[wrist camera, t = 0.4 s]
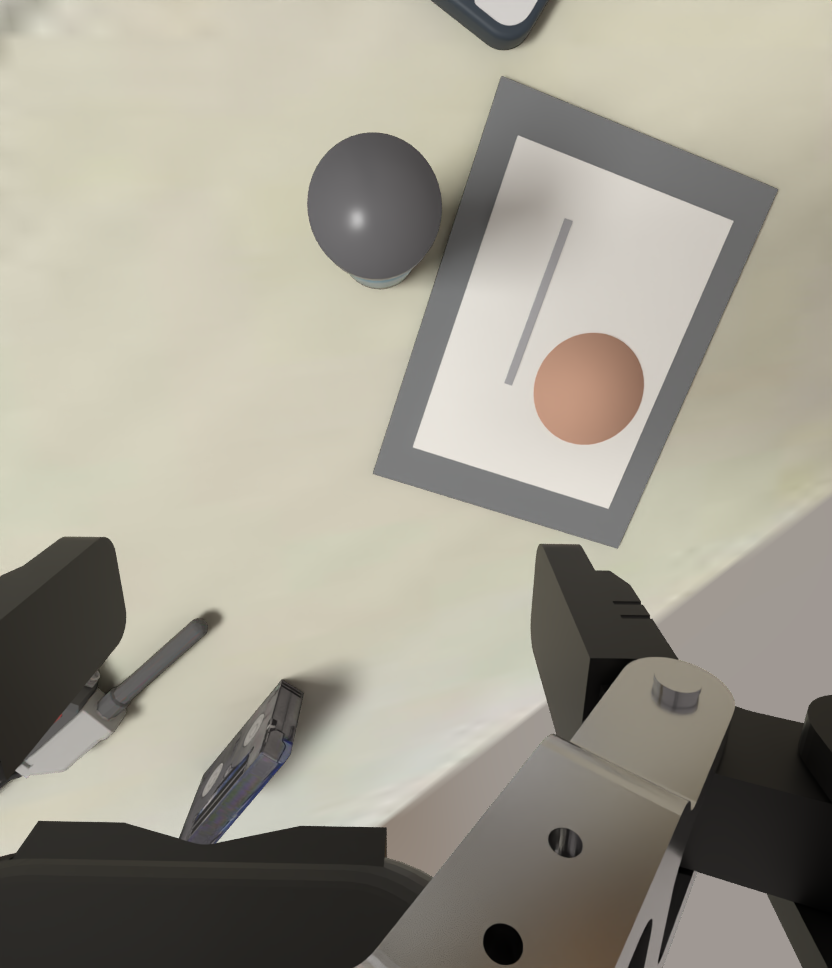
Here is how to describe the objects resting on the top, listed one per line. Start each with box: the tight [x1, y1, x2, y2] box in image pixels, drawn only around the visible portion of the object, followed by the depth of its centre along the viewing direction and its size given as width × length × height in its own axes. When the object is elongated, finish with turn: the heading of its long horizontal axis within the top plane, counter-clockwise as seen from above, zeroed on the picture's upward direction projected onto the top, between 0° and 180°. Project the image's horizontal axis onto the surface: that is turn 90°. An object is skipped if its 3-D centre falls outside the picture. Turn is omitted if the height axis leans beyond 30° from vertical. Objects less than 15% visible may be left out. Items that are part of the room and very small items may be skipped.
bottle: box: [307, 133, 442, 289], centre depth 23 cm, size 4×4×12 cm
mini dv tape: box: [179, 680, 304, 845], centre depth 33 cm, size 8×2×6 cm, turn 142°
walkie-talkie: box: [0, 618, 208, 788], centre depth 32 cm, size 9×4×20 cm
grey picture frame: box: [373, 76, 778, 549], centre depth 30 cm, size 19×14×1 cm
